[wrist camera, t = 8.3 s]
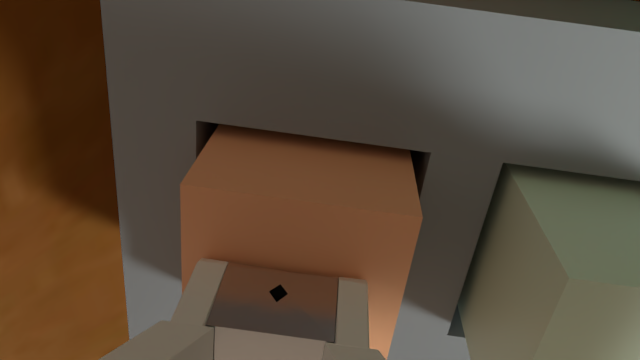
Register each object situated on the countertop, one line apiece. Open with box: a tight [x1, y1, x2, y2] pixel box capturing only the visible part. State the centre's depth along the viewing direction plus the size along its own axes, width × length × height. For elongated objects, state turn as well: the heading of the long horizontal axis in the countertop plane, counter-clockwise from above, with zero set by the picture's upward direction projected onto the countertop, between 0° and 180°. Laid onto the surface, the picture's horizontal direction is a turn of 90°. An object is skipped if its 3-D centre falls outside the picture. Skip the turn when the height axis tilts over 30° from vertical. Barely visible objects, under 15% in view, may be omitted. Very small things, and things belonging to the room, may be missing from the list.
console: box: [100, 0, 640, 360], centre depth 13 cm, size 20×10×5 cm, turn 83°
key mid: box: [457, 163, 640, 360], centre depth 11 cm, size 4×4×6 cm
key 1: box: [180, 124, 423, 360], centre depth 12 cm, size 4×4×6 cm
